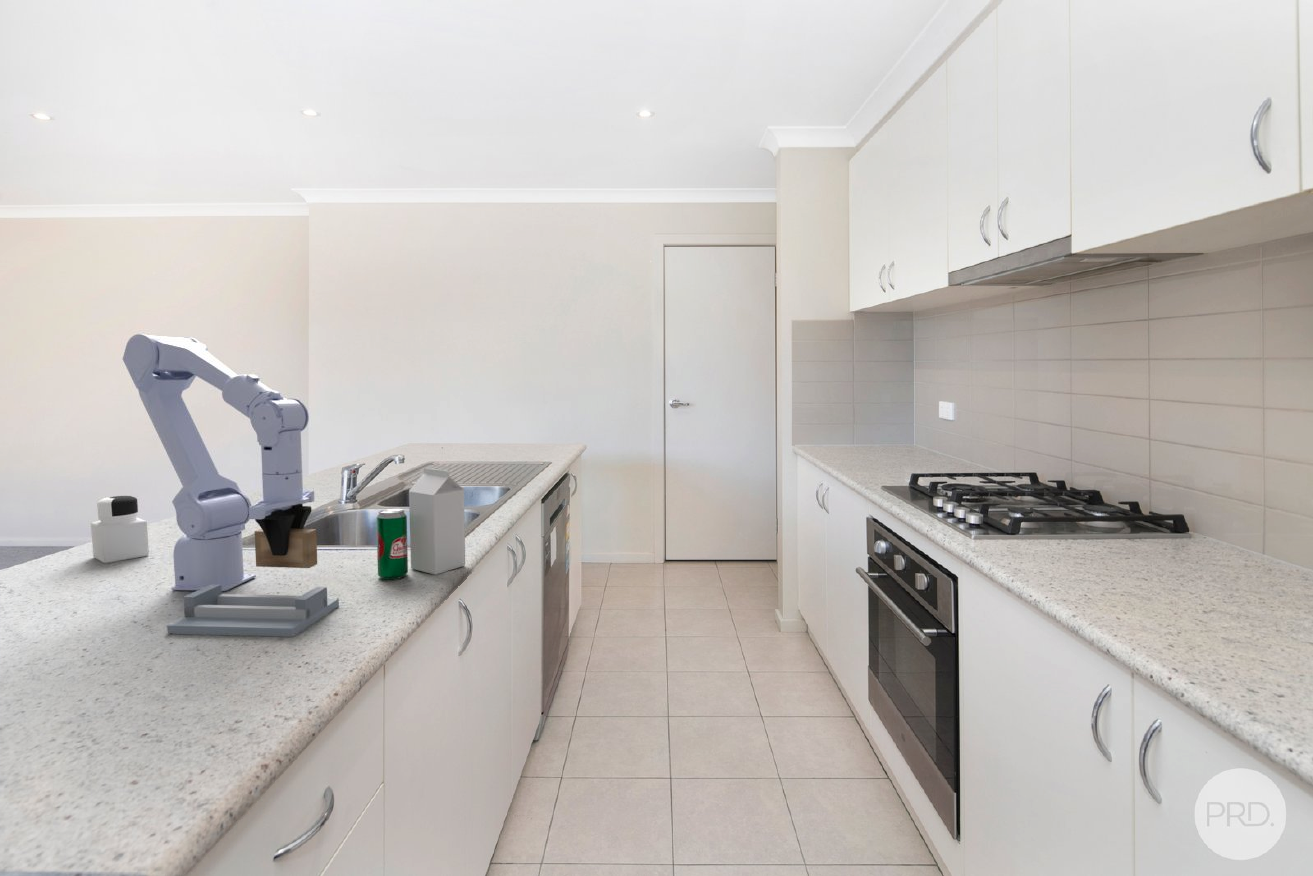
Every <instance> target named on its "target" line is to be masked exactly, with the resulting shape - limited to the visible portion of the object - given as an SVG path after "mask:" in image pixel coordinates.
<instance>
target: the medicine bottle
mask: <svg viewBox="0 0 1313 876" xmlns="http://www.w3.org/2000/svg"><path fill="white" fill-rule="evenodd" d="M96 504H97V518H98V519H97V521H93V522H91V523H90V528H91V529H90V530H91V543H92V546H91V547H92V556H93V558H95V559H96V560H98V561H100V562H101V563H104V564H108V563H114V562H119V561H125V560H132V559H135V558H142V557H148V556H149V555H150V548H149V547H150V546H149V534H148V533H149V532H148V521H146V520H144V519H142V518H139V517H138V516H139V508H138V507H139V505H138V498H137V497H136V496H135V497H134V496H132V495H116V496H108V497H107V496H106V497H104V498H102V499H99V500H98V501H97V503H96Z"/></svg>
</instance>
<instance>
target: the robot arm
mask: <svg viewBox="0 0 1313 876" xmlns="http://www.w3.org/2000/svg"><path fill="white" fill-rule="evenodd" d="M122 356H123V357H122V362H124V365H125V367H126V369H127V371H128V374H129V376H130V377H131V380H132V382H133V384H134V386H135V388H136V389H137V391H138V394H139V398H140V401H141V402H142V404H143V406H144V408H145V410H146V412H147V413H146V414H148V416H149V419H150V422H151V423H152V425H153V427H154V429H155V431H156V433H157V435H158V438H159V439H160V441H161V444H162V446H163V449H164V450H165V452H166V454H167V456H168V458H169V461H170V462H171V465H172V467H173V468H174V471H175V473H176V475H177V477H178V479H179V481H180V483H181V485H182V487H181V488H180V490H179V491H178V492H177V493H176V494H175V496H174V498H173V499H172V501H171V502H172V504H173V506H174V509H175V513H176V515H175V516H176V517H175V518H176V519H175V520H176V523H177V526H178V528H179V529H180V530H181V532H182V533H183V534H184V535H182V536H180V538H179V539H178V540H176V543H175V544H174V547H173V555H172V556H173V567H174V569H173V570H174V586H171V590H172V591H198V590H200V589H202V588H205V587H207V586H209V585H211V584H218V585H221V589H222V592H226V591H229V590H231V589H233V588H235V587H237V586H239V585H242V584H244V583H245V582H247V581H250V580H253V579H254V578H256V574H254V573H245V572H244V570H245V569H244V553H243V533H242V531H245V530H246V525H247V523H248V522H250V520H255V522H256V523H257V525H259V527H260V529H262V530H263V532H264V534H265V536H266V538H267V540H268V543H269V546H270V549H271V552H272V554H273V555H277V556H285V555H287V552H288V546H289V533H290V529H305V525H306V523H307V520H308V518H309V516H310V515H311V513H312V511H313V510H312V506H309V505H307V506H306V505H304V504H308V503H314V502H315V490H304V488H303V486H304V485H303V460H302V459H303V458H302V457H303V454H302V431H304V430H305V429H306V428H307V426H308V424H309V421H310V420H309V418H310V416H309V411H308V409H307V407H306V406H305V404H304V403H303V402H302V401H301V400H300V399H298V398H296V397H295V398H293V397H292V398H291V397H290V398H285V397H283V396H281V393H280V392H279V391H277V390H273V389H271V388H270V387H268V386H266V385H265V384H263V383H262V382H260V379H261V378H260V377H258V376H257V375H255V374H246V373H245V374H244V373H243V374H237V373H236V372H234V371H233V370H232V369H230V368H229V367H228V366H226V365H225V364H224V363H222V361H220V360H219V359H218V358H216V357H215V356H214V355H212V354H211V353H210V352H209V350H208V347H207V345H206V344H203V343H201V341H199V340H198V339H197V338H194V337H188V336H187V337H175V336H164V335H163V336H160V335H159V336H158V335H148V334H145V333H137V334H134V335H133V336H131V337H130V338H129V339H128V341H127V343H126V345H125V348H124V352H123V355H122ZM196 378H199V379H201V380H203V381H205V382H206V383H208V384H209V385H211V386H213V387H214V388H217V389H218V390H220V391H221V395H222V399H223V401H224V402H225V403H226V404H227V405H229V406H231V407H232V408H234V409H235V410H236V411H238V412H240V413H241V414H243V415H244V416H245V417H247V418H249V420H250V424H251V427H252V429H253V430H254V432H255V433H256V437H257V438H256V439H257V440H256V441H257V443H258V445H259V446H260V450H261V451H260V452H261V476H262V477H261V479H262V480H261V482H262V499H261V500H259V501H258V502H256V503H255V504H253V505H252V503H251V501H250V499H249V497H248V496H247V495H246V494H245V493H243V492H242V490H241V489H240V488H239V486H238V483H236V481H233V480H231V479H230V478H227V477H225V476H222V475H221V474H220V473H219V472H218V469H217V467H216V465H215V463H214V461H213V459H212V457H211V455H210V452H209V451H208V448H207V447H206V444H205V442H204V441H203V438H202V436H201V434H200V432H199V430H198V427H197V426H196V423H195V422H194V420H193V417H192V415H191V413H190V411H189V408H188V407H187V405H186V403H185V401H184V398H183V396H182V394H183V393H184V391H186V390H187V389H189V388H190V387H191V385H192V383H193V382H194V381H195V379H196Z"/></svg>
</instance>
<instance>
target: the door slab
mask: <svg viewBox="0 0 1313 876" xmlns="http://www.w3.org/2000/svg"><path fill="white" fill-rule="evenodd" d="M317 544H318V543H317V529H315V528H303V529H290V533H289V546H288V552H287V555H285V556H277V555H273V554H272V552H271V549H270V546H269V543H268V540H267V538H266V536H265V534H264V532H263V530H262V528H260V529H259V528H258V529H256V530H254V547H255V548H254V549H255V567H259V568H261V567H262V568H263V567H264V568H266V567H267V568H287V569H293V568H295V569H311V568H313V567H315V566H316V565H318V545H317Z"/></svg>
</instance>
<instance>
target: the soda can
mask: <svg viewBox="0 0 1313 876" xmlns="http://www.w3.org/2000/svg"><path fill="white" fill-rule="evenodd" d="M376 544H377V546H376V551H377V552H376V553H377V554H376V555H377V576H378V577H379V578H380V579H383V580H396V579H397V580H398V579H402V578H404V577H405V576H406V575H407V574H408V572H409V558H408V552H409V551H408V517H407V514H406V513H405V509H401V508H393V509H382V510H379V511H378V514H377V516H376Z"/></svg>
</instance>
